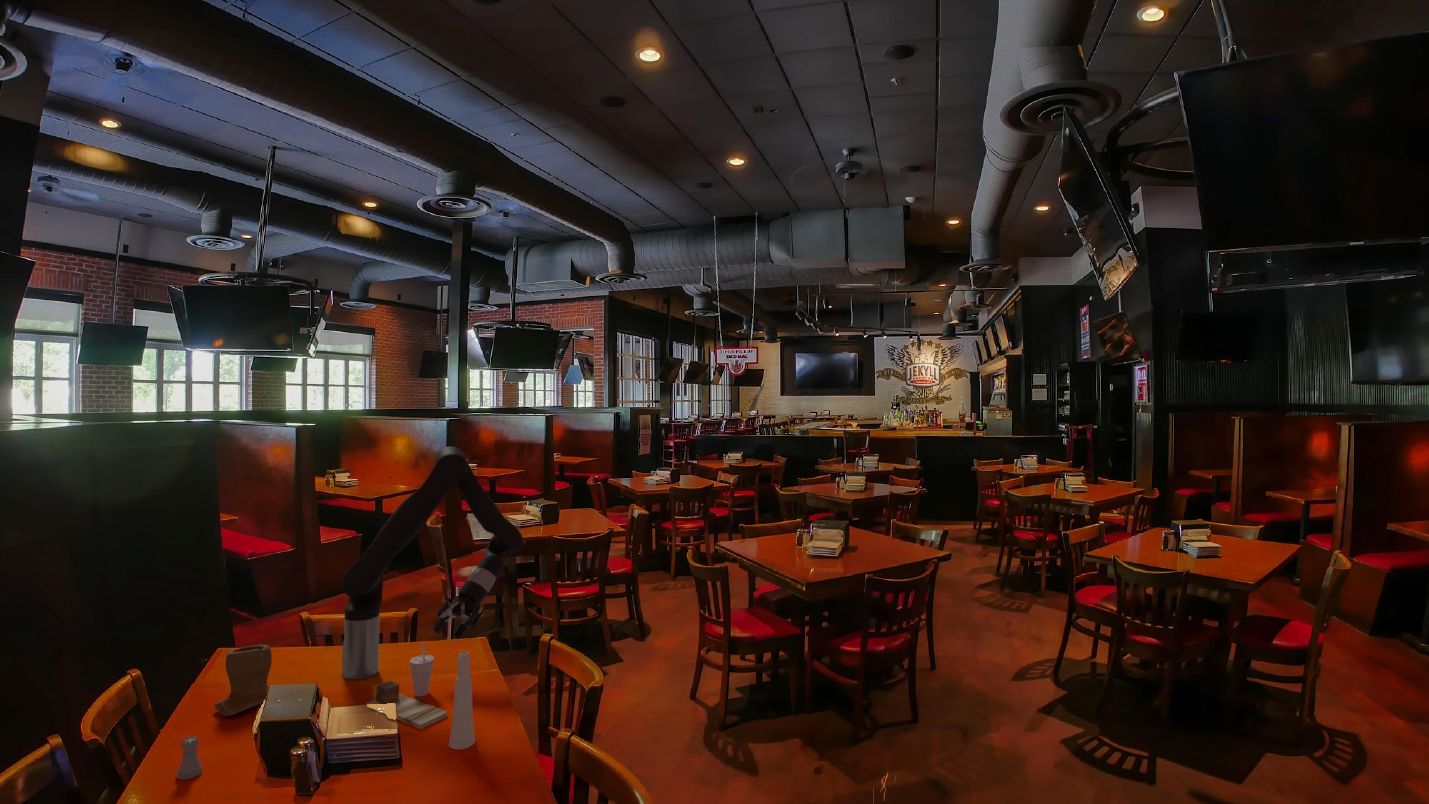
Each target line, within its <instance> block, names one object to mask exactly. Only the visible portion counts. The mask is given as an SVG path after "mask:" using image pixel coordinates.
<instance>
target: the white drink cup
mask: <svg viewBox="0 0 1429 804" xmlns="http://www.w3.org/2000/svg"><path fill="white" fill-rule="evenodd" d="M408 663H409V666H410V671H411V680H412V689H413V695H414V697H425V696H426V695H428V694H429V691H430V684H431V679H432V678H431V677H432V671H433V664H434V663H435V657H434V656H433V655H430V654H426V643H422V654H421V655H417V656H416V655H415V656H414V657H412V658H410V660H409V662H408Z"/></svg>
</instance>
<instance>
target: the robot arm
mask: <svg viewBox="0 0 1429 804" xmlns="http://www.w3.org/2000/svg"><path fill="white" fill-rule="evenodd" d="M454 487H456V488H457V490H458V491H459V493H460V494H461V496H462V497H463V499H464V501H465V502H466V505H467V506H468V508H469V510H470V511H471V513H472V514H473V516H474V518H475V519H476V521H477V522H478V523H479V525H480V526H481V527H482V528H483V529H484V530H485V531H486V532H487V533H488V534H492V537H491V538H490V540H489V542H488V545H487V547H486V549H485V552H484V555H483V557H482V558H481V560H480V562H479V563H478V565H477V566H476V567H475V568H474V569H473V571H472V572H471V573H470V575H469V576H468V578H467V579H466V581H465V582H464V583H463V585H462V587H461V588H460V589H459V591H458V592H457V593H458V595H457V598H456V599H453V598H451V597H447V599H446V600H445V602H444V603H443V604H442V605H441V607H440V608H439V610H438V611H437V613H436V615H437V616H438V617H439V618H438V620H437V622H436V624H435V625H434V626H433V628H432V630H433V632H434V633H435V634H439V633H441V631H442V629H443V628H444V626H445V625H446V624H447V622H448V621H449V620H452V619H454V618H461V623H460V624H459V625H458V626H457V628H456V630H455V631H454V633H453V634H452V637H453V638H454V639H456V640H459V639H460V638H461V637H462V636H463V634H464V633H465V632H466V630H468V629H469V628H470V627H471V628H474V627H476V625H477V623H478V621H479V620H480V617H481V616H482V614H483V613H484V610H485V609H484V608H483V607H482V606H481V605H482V603H483V602H484V600H485V598H486V597H487V596H488V595H489V592H491V591H490V590H491V589H492V587H494V586H493V585H494V584H495V582H496V580H497V578H498V576H500V574H501V572H502V570H503V569H504V568H505V561H504V559H503V558H504V556H505V554H506V553H507V554H508V553H511V554H513V553H517V552H519V551H520V550H521V549H522V548H523V545H524V538H523V535H522V533H521V532H520V530H519V529H518V528H517V527H516V526H515V525H514V524H513V523H512V522H511V521H510V520H509V519H507V518H506V517H505V516H504V515H503V513H502V512H501V510H500V509H499V508H498V506H497V505H496V503H495V502H494V501H493V499H492V498H491V497H490V495H489V494H488V492H486V490H485V489H484V487H483V486H482V485H481V484H480V481H479V480H478V478H477V477H476V475H475V474H474V472H473V470H472V467H471V466H470V464H469V462H468V458H467V456H466V454H465V452H464V451H463V450H461V448H459V447H456V446H446V447H443V448H441V449H440V450H438V452H437V454H436V455H435V459H434V466H433V468H432V470H431V472H430V473H429V475H428V476H427V478H426V479H425V480H424V482H423V483H422V484H421V485H420V487H419V488H417V489H416V490H415V491H414V492H413V493H412V494H410V495H409V496H408V497H406V499H405V498H404V500H403V501H402V502H401V503H400V504H399V505H398V506H397V508H396V509H395V510H394V511H393V513H391V515H390V516H389V518H388V519H387V520H386V522H385V523H384V524H383V526H382V527H381V529H380V530H379V532H378V533H377V535H376V536H375V537H374V539H373V541H372V542H371V544H370V545H369V546H368V548H367V549H366V550H365V551H364V552H363V554H362V555H360V557H359V558H358V559H357V560H356V561H355V562H354V563H353V564H352V565H350V567H349V568H348V569H346V571H345V572H344V573H343V575H342V578H341V581H340V582H341V589H342V592H343V593H344V594H345V595H346V596H348V601H347V604H346V607H345V609H344V629H343V630H344V633H343V634H344V636H343V637H344V639H343V642H342V660H341V661H342V662H341V664H342V665H341V667H342V669H341V673H342V674H343V676H342V677H344V679H346V680H347V679H348V680H361V679H362V680H363V679H367V678H370V677H372V676H374V675H376V674H377V673H378V672H379V661H380V660H379V658H380V657H379V655H380V654H379V653H380V651H379V649H380V610H381V609H380V608H381V605H382V601H383V588H384V587H383V586H384V573H383V572H384V570H385V569H386V567H387V566H388V565H389V563H390V562H391V561H392V560H394V558H395V557H396V556H397V555H398V554H400V552H402V551H403V550H404V549H405V548H406V547H407V546H408V545H409V544H410V543H411V541H413V539H414V538H415V537H416V536H417V535H418V533H419V532H420V531H421V530H422V528H423V527H424V526H425V525H426V523H427V522H428V520H429V519H430V517H431V516H432V514H433V513H434V512H435V510H436V509H437V508H438V506H439V505H440V503H441V501H443V500H444V498H445V497H446V496H447V495H448V494H449V492H450V491H452V490H453V488H454Z"/></svg>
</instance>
